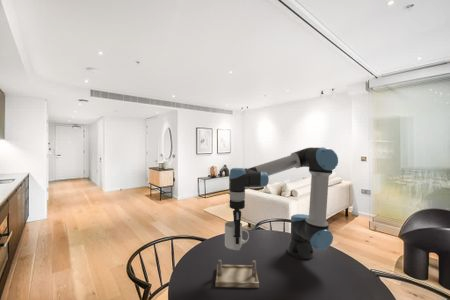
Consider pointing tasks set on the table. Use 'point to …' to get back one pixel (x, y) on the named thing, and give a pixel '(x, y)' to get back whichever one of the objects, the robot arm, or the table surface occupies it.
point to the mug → (231, 232)
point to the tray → (237, 275)
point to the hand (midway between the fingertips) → (236, 245)
